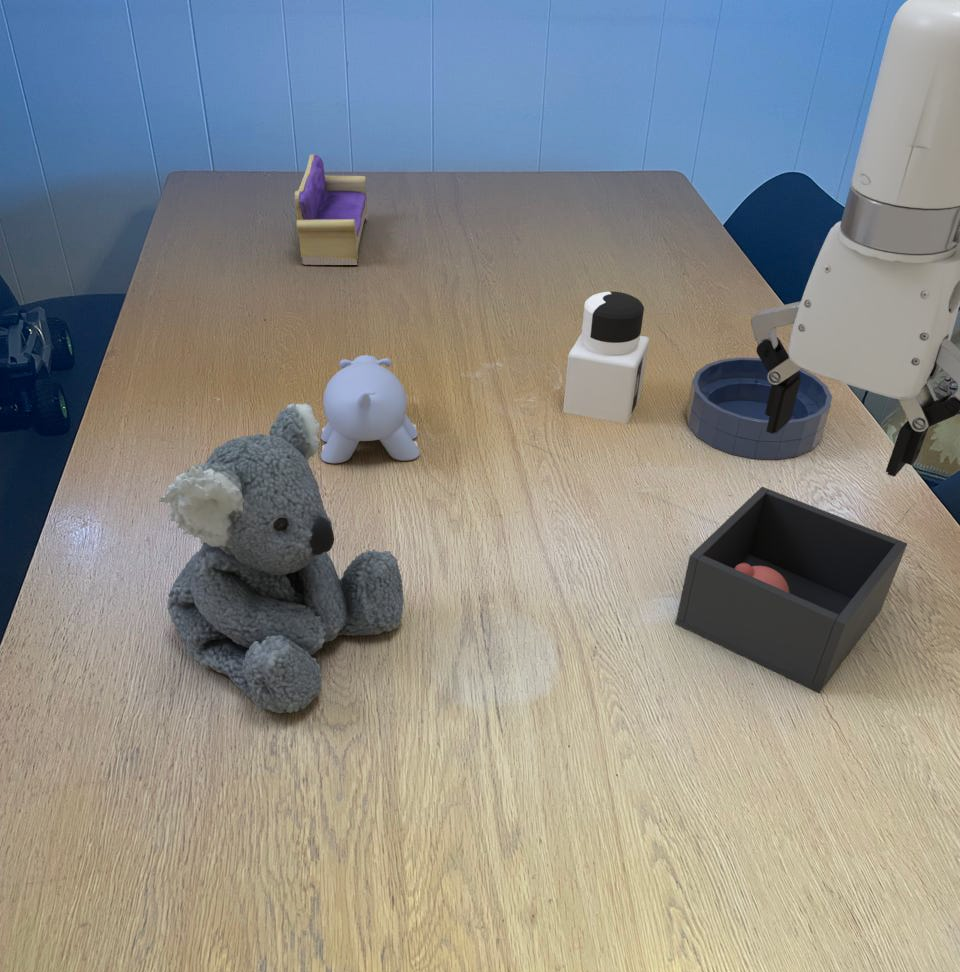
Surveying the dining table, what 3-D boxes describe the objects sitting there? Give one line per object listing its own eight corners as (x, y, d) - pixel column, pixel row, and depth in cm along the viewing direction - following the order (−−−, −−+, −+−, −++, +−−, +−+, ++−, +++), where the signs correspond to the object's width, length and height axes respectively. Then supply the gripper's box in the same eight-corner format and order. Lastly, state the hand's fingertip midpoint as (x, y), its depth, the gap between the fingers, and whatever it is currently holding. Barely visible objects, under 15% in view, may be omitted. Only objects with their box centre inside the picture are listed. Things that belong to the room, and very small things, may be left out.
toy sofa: (358, 268, 143) (354, 196, 136) (300, 267, 143) (292, 195, 136) (369, 219, 159) (366, 152, 152) (316, 218, 158) (310, 150, 152)
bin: (880, 610, 87) (907, 543, 82) (819, 693, 79) (845, 624, 74) (744, 552, 93) (761, 485, 88) (674, 623, 85) (689, 555, 80)
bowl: (841, 424, 112) (853, 385, 109) (784, 479, 103) (796, 438, 100) (723, 383, 119) (731, 345, 116) (661, 432, 110) (668, 392, 107)
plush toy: (807, 572, 83) (761, 561, 80) (796, 632, 83) (750, 624, 80) (761, 569, 87) (715, 559, 84) (751, 625, 87) (705, 618, 84)
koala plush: (290, 737, 74) (257, 531, 61) (126, 650, 81) (64, 448, 68) (418, 615, 85) (413, 418, 72) (264, 547, 92) (233, 356, 79)
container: (641, 397, 116) (657, 291, 107) (627, 427, 110) (642, 318, 102) (579, 385, 118) (589, 280, 109) (562, 415, 112) (571, 307, 103)
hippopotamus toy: (414, 403, 114) (412, 325, 107) (422, 472, 103) (420, 390, 96) (322, 406, 113) (314, 328, 106) (320, 476, 102) (311, 394, 95)
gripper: (1057, 233, 61) (964, 464, 73) (803, 177, 69) (755, 393, 81) (1022, 270, 57) (929, 508, 69) (755, 206, 65) (712, 430, 77)
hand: (835, 446), depth 75 cm, fingers open, 9 cm apart
